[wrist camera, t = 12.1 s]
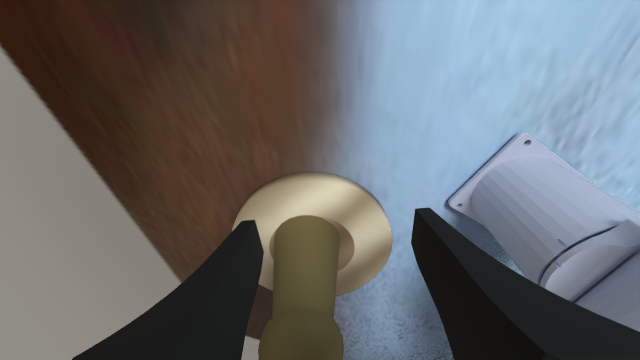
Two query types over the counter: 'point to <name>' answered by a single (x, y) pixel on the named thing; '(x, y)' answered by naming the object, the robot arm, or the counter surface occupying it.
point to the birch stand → (332, 205)
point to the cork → (304, 293)
